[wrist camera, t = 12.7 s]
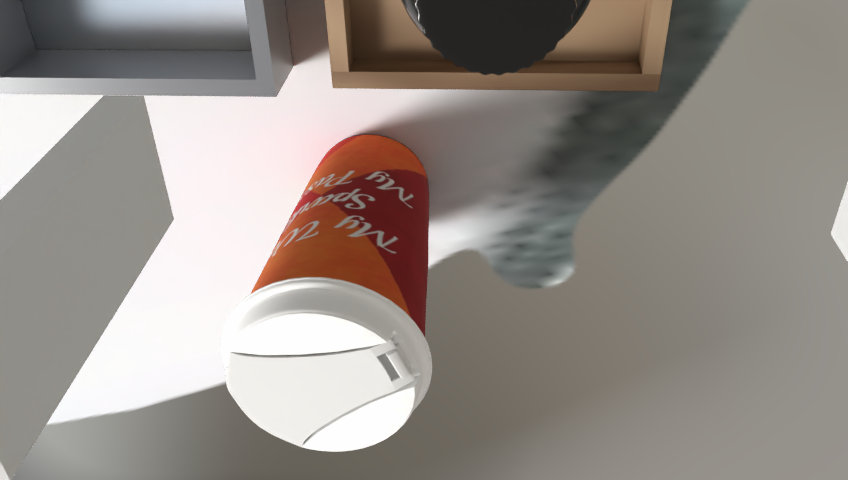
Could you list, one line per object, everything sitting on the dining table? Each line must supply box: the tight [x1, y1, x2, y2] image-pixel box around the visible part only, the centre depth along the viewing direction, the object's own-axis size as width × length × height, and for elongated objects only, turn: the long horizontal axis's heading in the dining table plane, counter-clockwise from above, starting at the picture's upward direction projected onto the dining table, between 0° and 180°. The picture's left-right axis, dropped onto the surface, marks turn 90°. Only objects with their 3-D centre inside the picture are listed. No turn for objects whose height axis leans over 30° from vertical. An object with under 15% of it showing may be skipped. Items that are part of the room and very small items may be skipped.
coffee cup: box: [221, 134, 432, 452], centre depth 36 cm, size 8×8×15 cm
